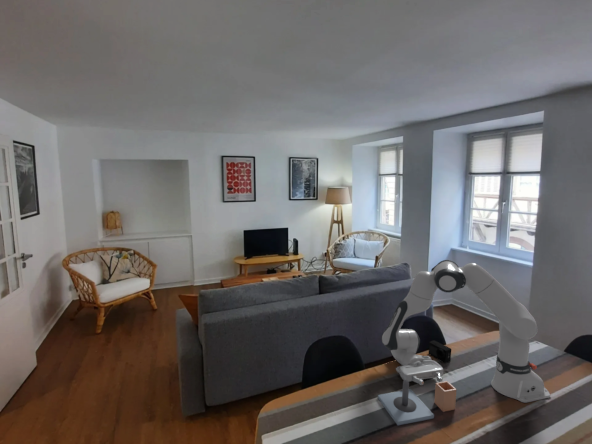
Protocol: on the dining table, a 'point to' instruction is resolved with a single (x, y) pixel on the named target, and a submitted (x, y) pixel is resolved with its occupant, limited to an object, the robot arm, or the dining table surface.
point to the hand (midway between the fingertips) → (431, 382)
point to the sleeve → (445, 396)
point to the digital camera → (439, 351)
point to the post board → (405, 406)
